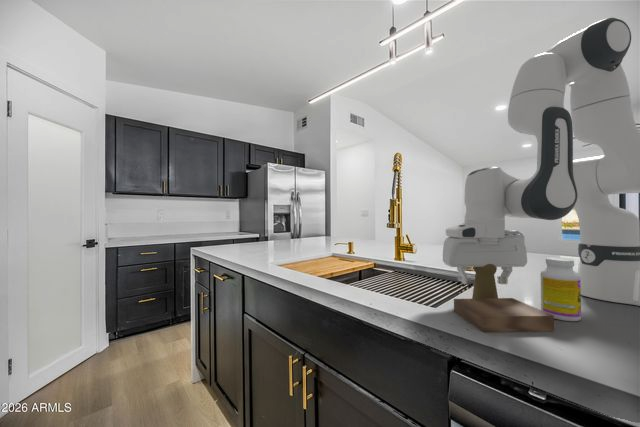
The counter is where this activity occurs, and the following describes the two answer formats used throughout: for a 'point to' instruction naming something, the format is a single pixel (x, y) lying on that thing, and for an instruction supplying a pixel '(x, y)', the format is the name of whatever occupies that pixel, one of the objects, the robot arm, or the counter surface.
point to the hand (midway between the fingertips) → (484, 283)
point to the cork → (485, 282)
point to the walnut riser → (503, 315)
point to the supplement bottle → (561, 290)
